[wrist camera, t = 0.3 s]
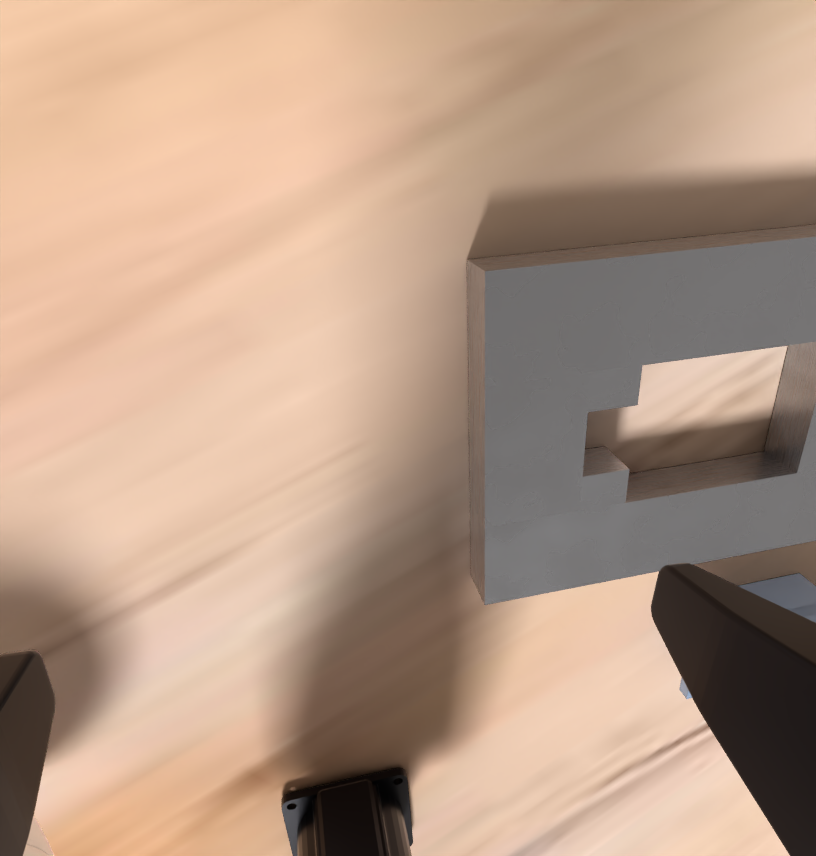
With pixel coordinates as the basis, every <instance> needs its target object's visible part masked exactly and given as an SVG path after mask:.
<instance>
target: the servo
mask: <svg viewBox="0 0 816 856" xmlns="http://www.w3.org/2000/svg"><path fill="white" fill-rule="evenodd" d="M739 587H741V588H743V589H745V590H747V591H750V592H752V593H754V594H756V595H758V596H760V597H762V598H764V599H767V600H769V601H771V602H773V603H775V604H777V605H779V606H781V607H784V608H786V609H788V610H790V611H792V612H794V613H796V614H798V615H801V616H803V617H805V618H807V619H809V620H811V621H813V622H815V623H816V586H815V585H813V584H812V583H811V582H810V581H809V580H807V579H806V578H805V577H804V576H803V575H801V574H800V573H797V574H793V575H788V576H783V577H778V578H773V579H768V580H763V581H759V582H754V583H749V584H744V585H739ZM680 691H681V692H682V693H683V695H684V696H685V697H686V699H688V698H692V696H691V694H690V692H689V690H688V688H687V686H686V684H685V682H684V680H683V678H682V679H681V684H680Z"/></svg>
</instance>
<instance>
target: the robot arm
mask: <svg viewBox="0 0 816 856" xmlns="http://www.w3.org/2000/svg"><path fill="white" fill-rule="evenodd" d="M651 612H652V617H653V620H654V623H655V625H656V627H657V629H658V631H659V633H660V635H661V637H662V639H663V641H664V643H665V645H666V647H667V649H668V651H669V653H670V655H671V657H672V659H673V661H674V663H675V665H676V667H677V668H678V670H679V672H680V674H681V676H682V678H683V680H684V682H685V684H686V686H687V688H688V690H689V692H690V694H691V696H692V698H693V700H694V702H695V704H696V705H697V707H698V709H699V711H700V712H701V714H702V716H703V718H704V719H705V721H706V723H707V724H708V726H709V727H710V729H711V731H712V732H713V734H714V735H715V737H716V739H717V740H718V742H719V743H720V745H721V747H722V748H723V750H724V751H725V753H726V754H727V756H728V758H729V759H730V761H731V762H732V764H733V766H734V767H735V769H736V770H737V772H738V774H739V775H740V777H741V778H742V780H743V781H744V783H745V785H746V786H747V788H748V789H749V791H750V793H751V794H752V796H753V797H754V799H755V801H756V802H757V804H758V805H759V807H760V809H761V810H762V812H763V813H764V815H765V816H766V818H767V820H768V821H769V823H770V824H771V826H772V828H773V829H774V831H775V832H776V834H777V836H778V837H779V839H780V840H781V842H782V844H783V845H784V847H785V848H786V850H787V851H788V853H789V855H790V856H816V623H815V622H813V621H811V620H809V619H807V618H805V617H803V616H801V615H798V614H796V613H794V612H792V611H790V610H788V609H786V608H784V607H781V606H779V605H777V604H775V603H773V602H771V601H769V600H767V599H764V598H762V597H760V596H758V595H756V594H754V593H752V592H750V591H747V590H745V589H743V588H741V587H739V586H737V585H735V584H733V583H730V582H728V581H726V580H724V579H722V578H720V577H718V576H716V575H713V574H711V573H709V572H707V571H705V570H703V569H701V568H699V567H696V566H694V565H692V564H690V563H678V564H670V565H665V566H663V567H662V568H661V569H660V571H659V574H658V578H657V582H656V587H655V591H654V595H653V600H652V604H651ZM54 712H55V695H54V691H53V688H52V685H51V682H50V679H49V676H48V673H47V670H46V666H45V663H44V660H43V658H42V655H41V654H40V653H39V651H37V650H24V651H16V652H9V653H5V654H2V655H0V856H23V854H24V850H25V847H26V843H27V840H28V837H29V833H30V829H31V824H32V820H33V816H34V811H35V806H36V801H37V796H38V791H39V786H40V781H41V776H42V772H43V767H44V762H45V757H46V752H47V747H48V742H49V737H50V732H51V727H52V722H53V717H54ZM281 802H282V812H283V817H284V821H285V825H286V829H287V833H288V837H289V841H290V846H291V850H292V854H293V856H412V855H411V850H410V846H411V845H412V843H413V837H412V825H411V814H410V803H409V791H408V780H407V775H406V771H405V770H404V769H403V768H395V769H390V770H386V771H382V772H378V773H373V774H369V775H365V776H360V777H356V778H352V779H348V780H343V781H339V782H335V783H330V784H326V785H322V786H317V787H313V788H309V789H305V790H300V791H296V792H292V793H288V794H286V795H285V796H283V798H282V801H281Z"/></svg>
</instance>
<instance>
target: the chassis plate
mask: <svg viewBox="0 0 816 856" xmlns="http://www.w3.org/2000/svg"><path fill="white" fill-rule="evenodd" d="M467 313H468V393H469V473H470V552H471V576H472V578H473V581H474V583H475V585H476V587H477V589H478V592H479V594H480V596H481V598H482V600H483V602H484V605H488V604H493V603H498V602H503V601H508V600H513V599H518V598H523V597H529V596H534V595H539V594H544V593H549V592H554V591H559V590H565V589H570V588H575V587H580V586H585V585H590V584H595V583H601V582H606V581H611V580H616V579H621V578H626V577H631V576H637V575H642V574H647V573H652V572H657V571H660V569H661V568H662V567H663V566H665V565H670V564H678V563H690V564H692V565H693V564H698V563H703V562H709V561H714V560H719V559H724V558H729V557H734V556H739V555H745V554H750V553H755V552H760V551H765V550H770V549H775V548H781V547H786V546H791V545H796V544H801V543H806V542H811V541H816V224H814V225H804V226H794V227H785V228H775V229H765V230H755V231H745V232H735V233H725V234H715V235H705V236H695V237H685V238H675V239H666V240H656V241H646V242H636V243H626V244H616V245H606V246H596V247H586V248H576V249H566V250H556V251H546V252H537V253H527V254H517V255H507V256H497V257H487V258H477V259H467ZM787 345H789V346H788V350H787V354H786V358H785V363H784V367H783V371H782V376H781V380H780V384H779V388H778V393H777V397H776V401H775V406H774V410H773V414H772V418H771V423H770V427H769V431H768V436H767V440H766V444H765V449H764V452H758V453H752V454H746V455H740V456H734V457H728V458H722V459H716V460H710V461H704V462H698V463H692V464H686V465H680V466H674V467H668V468H662V469H656V470H650V471H644V472H638V473H632V474H629V468H628V467H627V466H626V465H624V464H623V463H622V462H621V461H620V460H619V459H618V458H617V457H616V456H615V455H614V454H613V453H612V452H611V451H610V450H608V449H607V448H606V447H605V446H603V447H597V448H591V449H585V442H586V430H587V418H588V412H593V411H600V410H607V409H614V408H621V407H628V406H634V405H637V404H638V396H639V388H640V380H641V372H642V365H647V364H655V363H662V362H669V361H677V360H684V359H692V358H699V357H706V356H714V355H721V354H728V353H736V352H743V351H751V350H758V349H765V348H773V347H780V346H787Z"/></svg>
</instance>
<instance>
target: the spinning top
mask: <svg viewBox="0 0 816 856" xmlns="http://www.w3.org/2000/svg"><path fill="white" fill-rule="evenodd" d="M23 856H55V855H54V853H53V851H52V849H51V847H50V844H49V842H48V840H47V838H46V836H45V834H44V832H43V830H42V828H41V826H40V824H39V823H38V821H37V819H36V818H35V816H33V820H32V824H31V829H30V833H29V837H28V840H27V843H26V847H25V850H24V854H23Z"/></svg>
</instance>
